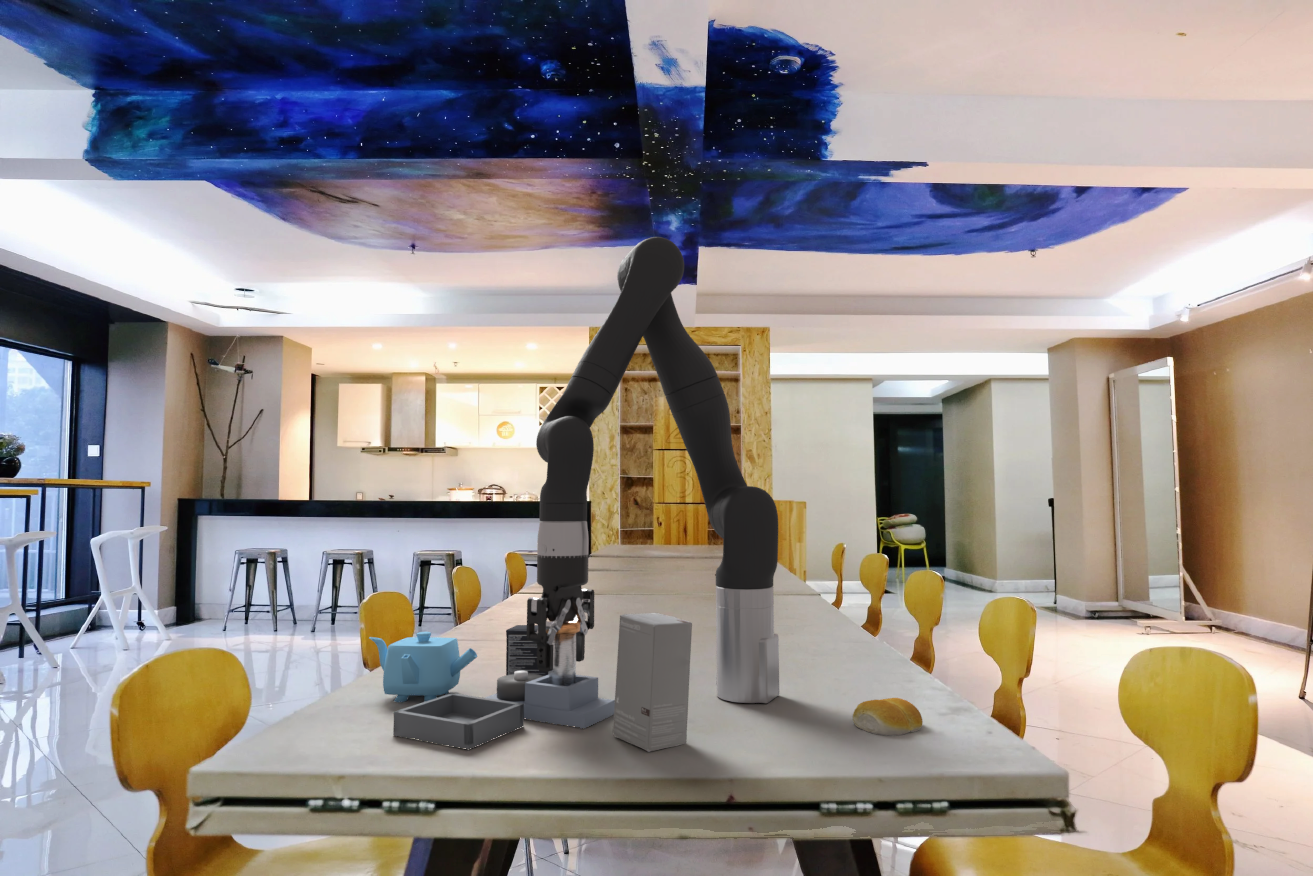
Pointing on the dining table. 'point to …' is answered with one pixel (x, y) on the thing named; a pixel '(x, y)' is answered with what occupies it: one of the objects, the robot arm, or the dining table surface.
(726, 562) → the robot arm
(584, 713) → the block
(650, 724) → the skincare box
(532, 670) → the small box
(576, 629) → the copper capped glass jar
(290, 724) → the dining table surface
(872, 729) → the bread roll
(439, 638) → the teapot
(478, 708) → the tray
